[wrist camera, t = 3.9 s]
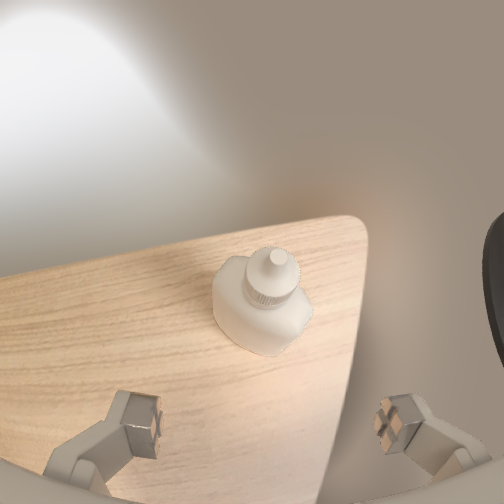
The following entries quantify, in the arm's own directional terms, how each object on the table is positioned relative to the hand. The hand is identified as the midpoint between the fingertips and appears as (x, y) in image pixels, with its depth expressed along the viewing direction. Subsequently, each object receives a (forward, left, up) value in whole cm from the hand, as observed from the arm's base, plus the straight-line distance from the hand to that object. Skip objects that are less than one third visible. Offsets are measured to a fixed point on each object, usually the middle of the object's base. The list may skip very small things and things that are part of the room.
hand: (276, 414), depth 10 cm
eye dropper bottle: (+1, -6, -12) cm, 13 cm away
